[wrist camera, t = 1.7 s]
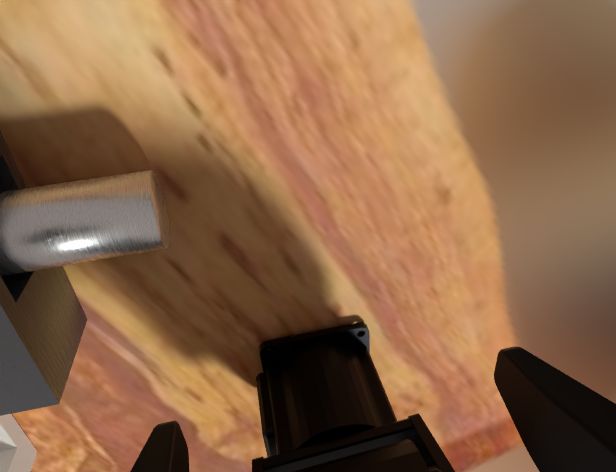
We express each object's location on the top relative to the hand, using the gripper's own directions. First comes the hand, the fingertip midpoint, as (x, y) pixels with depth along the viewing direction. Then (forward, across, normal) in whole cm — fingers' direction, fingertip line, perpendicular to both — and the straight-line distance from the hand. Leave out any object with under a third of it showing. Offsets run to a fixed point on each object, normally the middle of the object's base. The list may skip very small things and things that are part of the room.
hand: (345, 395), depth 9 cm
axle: (+11, +11, 0) cm, 15 cm away
